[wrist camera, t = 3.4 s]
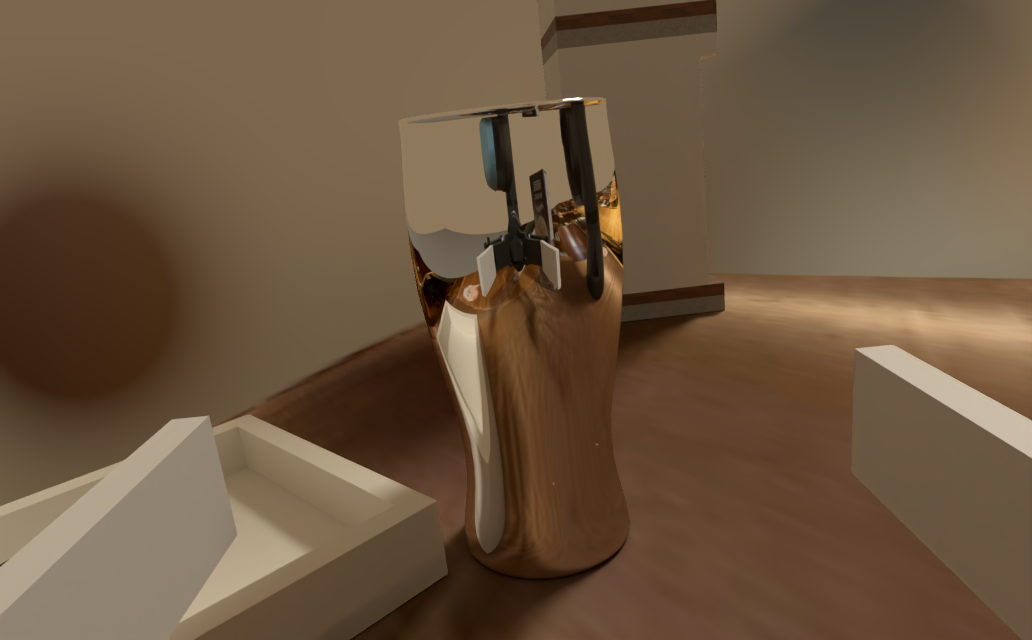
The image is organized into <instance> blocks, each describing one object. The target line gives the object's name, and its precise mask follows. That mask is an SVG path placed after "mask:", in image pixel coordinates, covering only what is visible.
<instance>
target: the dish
mask: <svg viewBox="0 0 1032 640" xmlns="http://www.w3.org/2000/svg"><path fill="white" fill-rule="evenodd" d="M212 430H213V434H214V438H215V443H216V447H217V451H218V455H219V459H220V464H221V468H222V472H223V476H224V480H225V484H226V489H227V493H228V497H229V501H230V505H231V510H232V514H233V518H234V522H235V526H236V530H237V536H236V538H235V539H234V541H233V542H232V544H231V545H230V547H229V548H228V550H227V551H226V553H225V554H224V556H223V557H222V559H221V560H220V562H219V563H218V565H217V566H216V568H215V569H214V571H213V572H212V574H211V575H210V577H209V578H208V580H207V581H206V583H205V584H204V586H203V587H202V589H201V590H200V592H199V593H198V595H197V596H196V598H195V599H194V601H193V602H192V604H191V605H190V607H189V608H188V610H187V611H186V613H185V614H184V616H183V617H182V619H181V620H180V622H179V623H178V625H177V626H176V628H175V629H174V631H173V632H172V634H171V635H170V637H169V638H168V640H350V639H352V638H353V637H354V636H356V635H357V634H359V633H360V632H362V631H363V630H365V629H366V628H368V627H369V626H371V625H372V624H374V623H375V622H377V621H378V620H380V619H381V618H383V617H384V616H386V615H387V614H389V613H390V612H392V611H393V610H395V609H396V608H398V607H399V606H401V605H402V604H404V603H405V602H407V601H408V600H410V599H411V598H413V597H414V596H416V595H417V594H419V593H420V592H421V591H423V590H424V589H426V588H427V587H429V586H430V585H432V584H433V583H435V582H436V581H438V580H439V579H441V578H442V577H444V576H445V575H447V574H448V569H447V563H446V556H445V550H444V543H443V537H442V530H441V524H440V517H439V511H438V504H437V501H436V500H434V499H432V498H430V497H428V496H426V495H423V494H421V493H419V492H417V491H415V490H413V489H410V488H408V487H406V486H404V485H402V484H400V483H397V482H395V481H393V480H391V479H389V478H386V477H384V476H382V475H380V474H378V473H376V472H373V471H371V470H369V469H367V468H365V467H363V466H360V465H358V464H356V463H354V462H352V461H350V460H347V459H345V458H343V457H341V456H339V455H336V454H334V453H332V452H330V451H328V450H326V449H323V448H321V447H319V446H317V445H315V444H313V443H310V442H308V441H306V440H304V439H302V438H300V437H297V436H295V435H293V434H291V433H289V432H287V431H284V430H282V429H280V428H278V427H276V426H273V425H271V424H269V423H267V422H265V421H263V420H260V419H258V418H256V417H254V416H252V415H250V414H248V415H245V416H242V417H240V418H237V419H234V420H232V421H229V422H226V423H223V424H221V425H218V426H215V427H213V428H212ZM122 462H123V461H121V462H119V463H116V464H113V465H110V466H108V467H105V468H102V469H100V470H97V471H94V472H92V473H89V474H86V475H84V476H81V477H78V478H75V479H73V480H70V481H67V482H65V483H62V484H60V485H57V486H54V487H51V488H49V489H46V490H43V491H40V492H38V493H35V494H33V495H30V496H27V497H24V498H21V499H19V500H16V501H13V502H11V503H8V504H5V505H3V506H0V564H2V563H3V562H5V561H7V560H9V559H10V558H11V557H13V556H14V555H15V554H16V553H17V552H18V551H20V550H21V549H22V548H23V547H24V546H25V545H27V544H28V543H29V542H30V541H31V540H32V539H34V538H35V537H36V536H37V535H38V534H39V533H41V532H42V531H43V530H44V529H45V528H46V527H48V526H49V525H50V524H51V523H52V522H53V521H54V520H56V519H57V518H58V517H59V516H60V515H61V514H63V513H64V512H65V511H66V510H67V509H68V508H70V507H71V506H72V505H73V504H74V503H75V502H77V501H78V500H79V499H80V498H81V497H82V496H84V495H85V494H86V493H87V492H88V491H89V490H91V489H92V488H93V487H94V486H95V485H96V484H98V483H99V482H100V481H101V480H102V479H103V478H105V477H106V476H107V475H108V474H109V473H110V472H111V471H113V470H114V469H115V468H116V467H117V466H118V465H120V464H121V463H122Z"/></svg>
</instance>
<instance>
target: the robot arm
mask: <svg viewBox="0 0 1032 640" xmlns="http://www.w3.org/2000/svg"><path fill="white" fill-rule="evenodd" d="M851 473H853V474H854V475H855V476H856V477H857V478H858V479H859V480H860V481H861V482H862V483H863V484H864V485H865V486H866V487H867V488H868V489H869V490H870V491H871V492H872V493H873V494H874V495H875V496H876V497H877V498H878V499H879V500H880V501H881V502H882V503H883V504H884V505H885V506H886V507H887V508H888V509H889V510H890V511H891V512H892V513H893V514H894V515H895V516H896V517H897V518H898V519H899V520H900V521H901V522H903V523H904V524H905V525H906V526H907V527H908V528H909V529H910V530H911V531H912V532H913V533H914V534H915V535H916V536H917V537H918V538H919V539H920V540H921V541H922V542H923V543H924V544H925V545H926V546H927V547H928V548H929V549H930V550H931V551H932V552H933V553H934V554H935V555H936V556H937V557H938V558H939V559H940V560H941V561H942V562H943V563H944V564H945V565H946V566H947V567H948V568H949V569H950V570H951V571H952V572H954V573H955V574H956V575H957V576H958V577H959V578H960V579H961V580H962V581H963V582H964V583H965V584H966V585H967V586H968V587H969V588H970V589H971V590H972V591H973V592H974V593H975V594H976V595H977V596H978V597H979V598H980V599H981V600H982V601H983V602H984V603H985V604H986V605H987V606H988V607H989V608H990V609H991V610H992V611H993V612H994V613H995V614H996V615H997V616H998V617H999V618H1000V619H1001V620H1002V621H1003V622H1005V623H1006V624H1007V625H1008V626H1009V627H1010V628H1011V629H1012V630H1013V631H1014V632H1015V633H1016V634H1017V635H1018V636H1019V637H1020V638H1021V639H1022V640H1032V421H1031V420H1029V419H1028V418H1026V417H1024V416H1022V415H1020V414H1018V413H1017V412H1015V411H1013V410H1011V409H1009V408H1008V407H1006V406H1004V405H1002V404H1000V403H998V402H997V401H995V400H993V399H991V398H989V397H987V396H986V395H984V394H982V393H980V392H978V391H976V390H975V389H973V388H971V387H969V386H967V385H965V384H964V383H962V382H960V381H958V380H956V379H954V378H953V377H951V376H949V375H947V374H945V373H943V372H942V371H940V370H938V369H936V368H934V367H932V366H931V365H929V364H927V363H925V362H923V361H921V360H920V359H918V358H916V357H914V356H912V355H911V354H909V353H907V352H905V351H903V350H901V349H900V348H898V347H896V346H894V345H886V346H876V347H867V348H857V349H855V353H854V392H853V430H852V469H851ZM236 536H237V530H236V526H235V522H234V518H233V514H232V510H231V505H230V501H229V497H228V493H227V489H226V484H225V480H224V476H223V472H222V468H221V464H220V459H219V455H218V451H217V447H216V443H215V438H214V434H213V430H212V426H211V422H210V418H209V416H202V417H193V418H182V419H174V420H171V421H170V422H169V423H167V424H166V425H165V426H164V427H163V428H162V429H160V430H159V431H158V432H157V433H156V434H155V435H153V436H152V437H151V438H150V439H149V440H148V441H146V442H145V443H144V444H143V445H142V446H141V447H139V448H138V449H137V450H136V451H135V452H134V453H132V454H131V455H130V456H129V457H128V458H127V459H125V460H124V461H123V462H122V463H121V464H120V465H118V466H117V467H116V468H115V469H114V470H113V471H111V472H110V473H109V474H108V475H107V476H106V477H105V478H103V479H102V480H101V481H100V482H99V483H98V484H96V485H95V486H94V487H93V488H92V489H91V490H89V491H88V492H87V493H86V494H85V495H84V496H82V497H81V498H80V499H79V500H78V501H77V502H75V503H74V504H73V505H72V506H71V507H70V508H68V509H67V510H66V511H65V512H64V513H63V514H61V515H60V516H59V517H58V518H57V519H56V520H54V521H53V522H52V523H51V524H50V525H49V526H48V527H46V528H45V529H44V530H43V531H42V532H41V533H39V534H38V535H37V536H36V537H35V538H34V539H32V540H31V541H30V542H29V543H28V544H27V545H25V546H24V547H23V548H22V549H21V550H20V551H18V552H17V553H16V554H15V555H14V556H13V557H11V558H10V559H9V560H7V561H5V562H3V563H2V564H0V640H168V638H169V637H170V635H171V634H172V632H173V631H174V629H175V628H176V626H177V625H178V623H179V622H180V620H181V619H182V617H183V616H184V614H185V613H186V611H187V610H188V608H189V607H190V605H191V604H192V602H193V601H194V599H195V598H196V596H197V595H198V593H199V592H200V590H201V589H202V587H203V586H204V584H205V583H206V581H207V580H208V578H209V577H210V575H211V574H212V572H213V571H214V569H215V568H216V566H217V565H218V563H219V562H220V560H221V559H222V557H223V556H224V554H225V553H226V551H227V550H228V548H229V547H230V545H231V544H232V542H233V541H234V539H235V538H236Z"/></svg>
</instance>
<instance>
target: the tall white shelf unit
mask: <svg viewBox="0 0 1032 640" xmlns="http://www.w3.org/2000/svg"><path fill="white" fill-rule="evenodd" d="M537 3H538V14H539V25H540V36H541V46H542V57H543V69H544V79H545V91H546V100H556V99H568V98H580V97H606V98H607V112H608V120H609V127H610V134H611V140H612V146H613V153H614V159H615V166H616V173H617V181H618V188H619V196H620V206H621V217H622V227H623V250H624V283H623V302H622V316H621V322H625V321H634V320H643V319H651V318H660V317H668V316H677V315H686V314H694V313H703V312H711V311H720V310H725V301H724V283H723V282H722V281H720V280H719V279H717V278H715V277H714V276H712V275H710V274H709V273H708V265H707V235H706V205H705V176H704V147H703V119H702V118H703V117H702V90H701V88H702V87H701V59H704V58H707V57H709V56H713V55H715V54H718V49H717V16H716V15H717V14H716V0H537Z"/></svg>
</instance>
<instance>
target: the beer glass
mask: <svg viewBox="0 0 1032 640" xmlns="http://www.w3.org/2000/svg"><path fill="white" fill-rule="evenodd" d="M398 124H399V128H400V136H401V150H402V165H403V184H404V196H405V210H406V220H407V229H408V236H409V245H410V253H411V259H412V264H413V270H414V275H415V281H416V286H417V292H418V296H419V300H420V303H421V307H422V310H423V314H424V318H425V321H426V325H427V329H428V332H429V335H430V338H431V341H432V345H433V348H434V351H435V354H436V357H437V360H438V363H439V366H440V369H441V372H442V375H443V378H444V381H445V384H446V387H447V389H448V392H449V395H450V398H451V401H452V404H453V408H454V411H455V414H456V417H457V421H458V424H459V427H460V431H461V436H462V441H463V446H464V451H465V458H466V469H467V492H466V508H465V539H466V543H467V546H468V548H469V550H470V552H471V553H472V555H473V556H474V557H475V558H476V559H477V560H478V561H479V562H480V563H482V564H483V565H485V566H487V567H488V568H490V569H492V570H494V571H497V572H499V573H502V574H505V575H509V576H514V577H519V578H529V579H548V578H558V577H564V576H569V575H573V574H577V573H580V572H583V571H586V570H588V569H591V568H593V567H595V566H597V565H599V564H601V563H603V562H604V561H606V560H607V559H609V558H610V557H611V556H612V555H614V554H615V553H616V552H617V551H618V550H619V549H620V548H621V546H622V545H623V544H624V542H625V540H626V538H627V536H628V532H629V525H630V520H629V512H628V508H627V504H626V500H625V496H624V493H623V489H622V486H621V482H620V479H619V475H618V472H617V468H616V463H615V458H614V453H613V444H612V424H611V412H612V401H613V389H614V380H615V371H616V363H617V354H618V345H619V335H620V326H621V316H622V302H623V283H624V250H623V227H622V217H621V206H620V196H619V188H618V181H617V173H616V166H615V159H614V153H613V146H612V140H611V134H610V127H609V120H608V112H607V98H606V97H580V98H568V99H556V100H545V101H535V102H526V103H516V104H508V105H498V106H490V107H481V108H473V109H464V110H457V111H449V112H441V113H435V114H427V115H421V116H414V117H409V118H405V119H401V120H399V121H398Z"/></svg>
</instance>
